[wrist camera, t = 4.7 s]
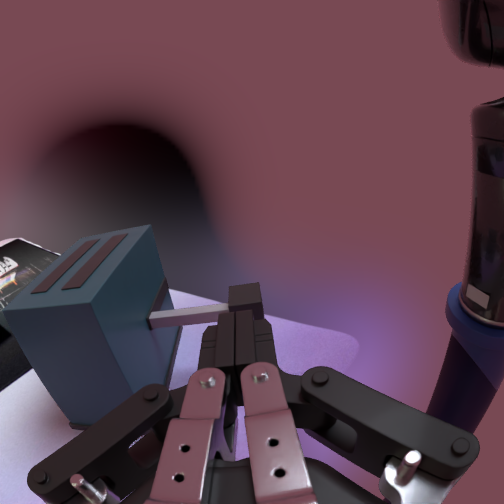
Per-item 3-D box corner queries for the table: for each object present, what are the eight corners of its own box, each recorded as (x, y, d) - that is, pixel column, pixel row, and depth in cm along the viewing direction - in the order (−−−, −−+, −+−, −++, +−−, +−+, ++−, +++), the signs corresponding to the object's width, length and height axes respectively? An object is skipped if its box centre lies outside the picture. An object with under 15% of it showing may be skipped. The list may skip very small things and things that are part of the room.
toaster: (182, 327, 33) (153, 222, 29) (159, 435, 20) (90, 302, 15) (115, 333, 33) (80, 236, 29) (71, 428, 20) (-3, 310, 15)
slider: (263, 311, 26) (258, 281, 25) (266, 332, 23) (261, 301, 22) (160, 323, 26) (151, 296, 25) (153, 344, 23) (142, 316, 22)
